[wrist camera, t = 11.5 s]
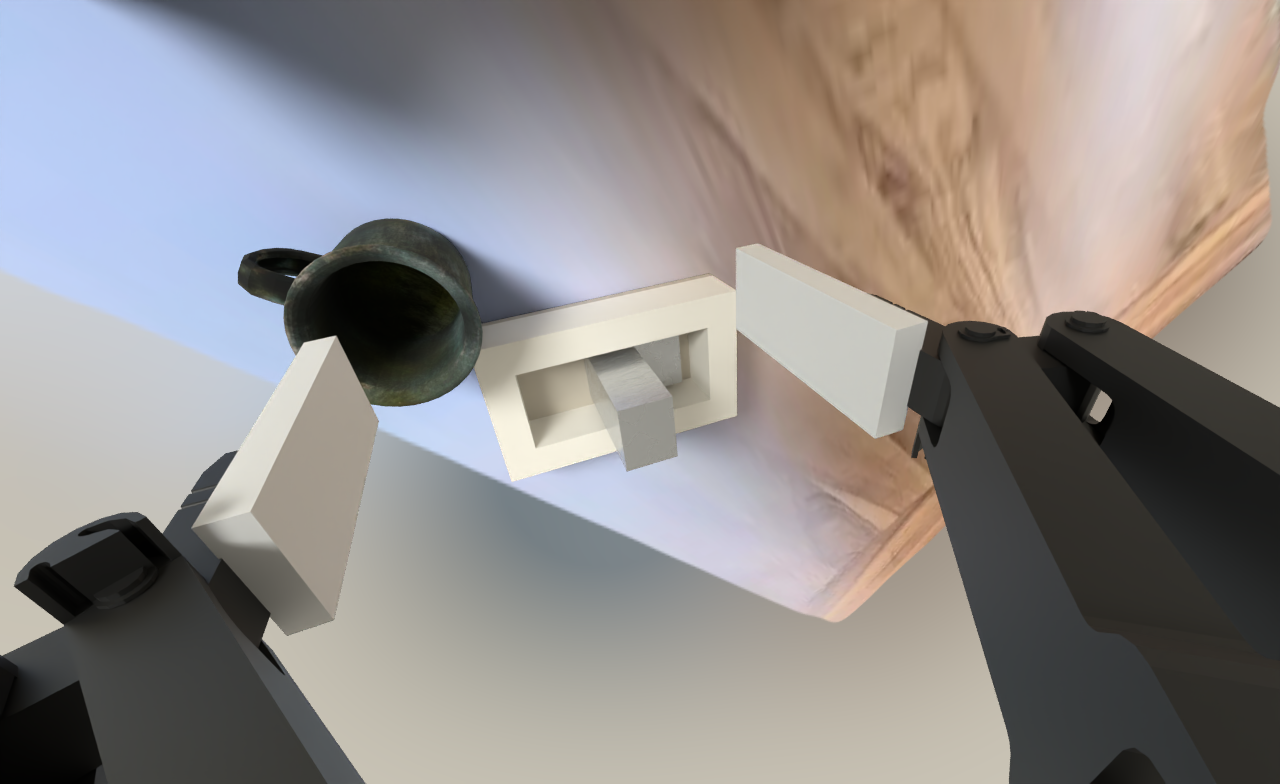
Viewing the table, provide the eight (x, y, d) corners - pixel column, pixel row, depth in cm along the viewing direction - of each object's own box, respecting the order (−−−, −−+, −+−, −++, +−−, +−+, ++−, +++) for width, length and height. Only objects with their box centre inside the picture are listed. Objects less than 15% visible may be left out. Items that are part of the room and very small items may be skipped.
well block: (467, 326, 44) (469, 352, 39) (709, 273, 49) (736, 290, 44) (506, 447, 51) (511, 481, 47) (713, 390, 56) (736, 415, 52)
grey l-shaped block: (580, 344, 47) (617, 411, 37) (670, 322, 49) (730, 380, 39) (590, 395, 51) (626, 471, 40) (675, 373, 53) (731, 439, 42)
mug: (457, 354, 45) (457, 422, 35) (266, 306, 38) (200, 373, 28) (492, 242, 41) (503, 283, 31) (288, 167, 35) (221, 189, 25)
